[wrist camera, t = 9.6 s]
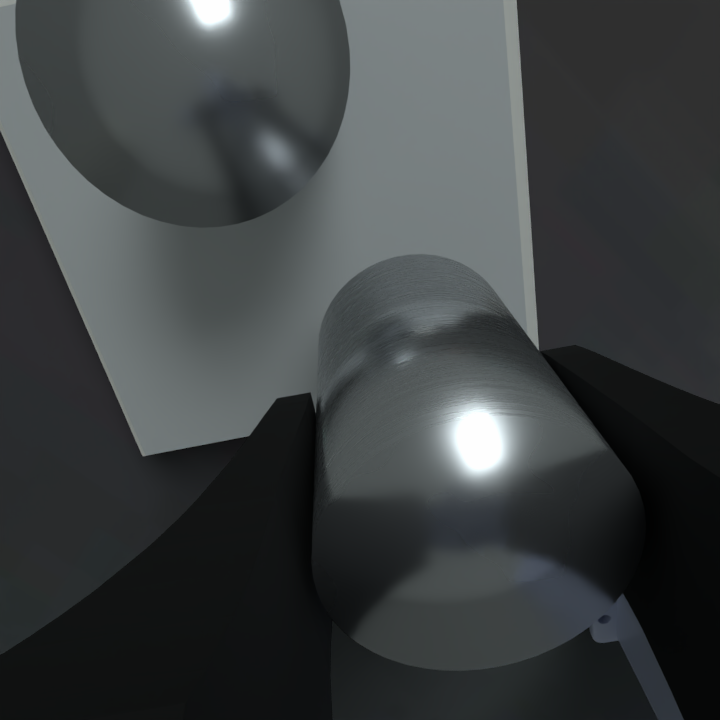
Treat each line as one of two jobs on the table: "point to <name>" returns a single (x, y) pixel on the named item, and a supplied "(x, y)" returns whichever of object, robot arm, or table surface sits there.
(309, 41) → the cylinder
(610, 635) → the robot arm
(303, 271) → the grey flat ridged box
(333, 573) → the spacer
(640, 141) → the table surface
